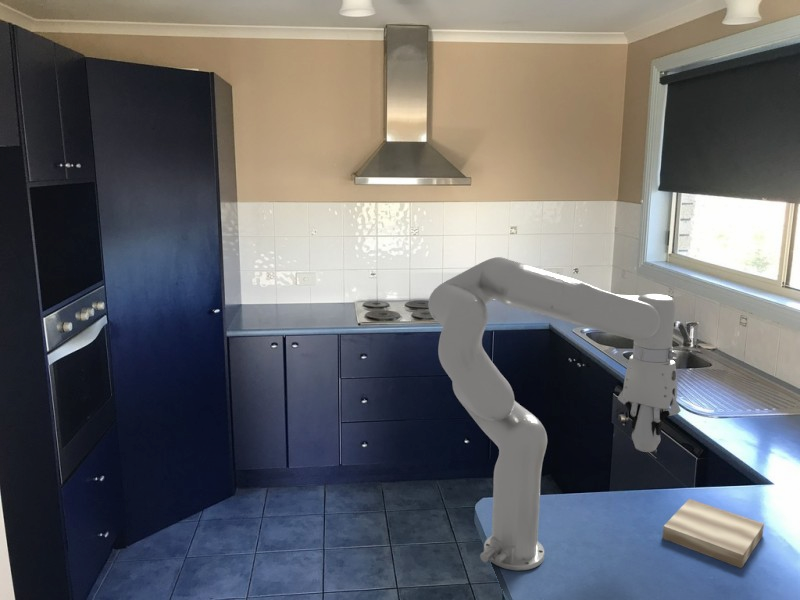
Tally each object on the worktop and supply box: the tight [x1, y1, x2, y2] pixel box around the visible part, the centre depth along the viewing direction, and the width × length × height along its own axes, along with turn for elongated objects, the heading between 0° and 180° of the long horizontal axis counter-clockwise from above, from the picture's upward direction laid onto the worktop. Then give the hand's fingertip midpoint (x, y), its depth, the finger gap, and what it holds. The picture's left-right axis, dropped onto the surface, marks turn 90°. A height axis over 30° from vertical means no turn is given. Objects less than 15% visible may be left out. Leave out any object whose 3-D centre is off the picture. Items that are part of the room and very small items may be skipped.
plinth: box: [662, 498, 765, 569], centre depth 143 cm, size 16×16×3 cm
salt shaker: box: [631, 402, 661, 453], centre depth 139 cm, size 6×6×13 cm
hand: (645, 434), depth 140 cm, fingers closed on salt shaker, 3 cm apart
